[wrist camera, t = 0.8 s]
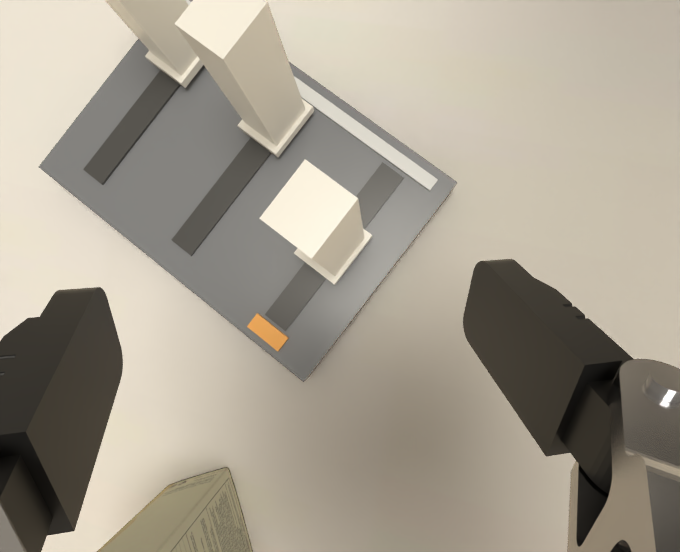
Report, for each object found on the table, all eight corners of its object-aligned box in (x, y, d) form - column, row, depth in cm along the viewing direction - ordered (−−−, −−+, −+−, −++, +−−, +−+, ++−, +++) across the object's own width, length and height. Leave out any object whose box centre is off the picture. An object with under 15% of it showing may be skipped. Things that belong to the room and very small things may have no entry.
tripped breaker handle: (332, 206, 27) (306, 146, 17) (372, 236, 26) (370, 193, 16) (295, 254, 27) (247, 222, 17) (335, 285, 26) (310, 271, 16)
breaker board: (193, 4, 31) (71, -198, 19) (451, 191, 29) (509, 102, 16) (60, 176, 31) (-153, 87, 18) (308, 376, 29) (256, 430, 16)
